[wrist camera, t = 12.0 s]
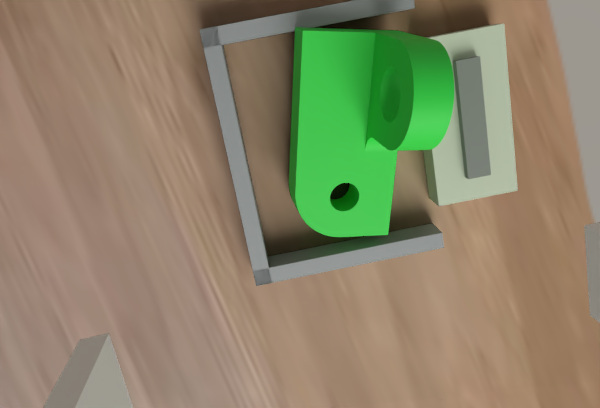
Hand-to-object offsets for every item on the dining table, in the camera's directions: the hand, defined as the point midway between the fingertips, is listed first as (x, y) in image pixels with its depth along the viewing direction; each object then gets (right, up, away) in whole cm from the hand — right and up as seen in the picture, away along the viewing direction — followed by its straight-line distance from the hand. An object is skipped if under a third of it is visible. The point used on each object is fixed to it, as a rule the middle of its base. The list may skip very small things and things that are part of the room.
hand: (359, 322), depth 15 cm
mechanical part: (+1, +8, +19) cm, 21 cm away
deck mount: (+2, +8, +20) cm, 22 cm away
